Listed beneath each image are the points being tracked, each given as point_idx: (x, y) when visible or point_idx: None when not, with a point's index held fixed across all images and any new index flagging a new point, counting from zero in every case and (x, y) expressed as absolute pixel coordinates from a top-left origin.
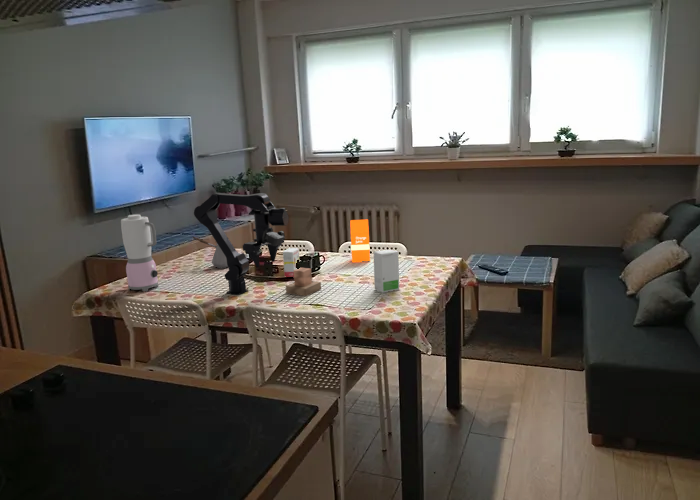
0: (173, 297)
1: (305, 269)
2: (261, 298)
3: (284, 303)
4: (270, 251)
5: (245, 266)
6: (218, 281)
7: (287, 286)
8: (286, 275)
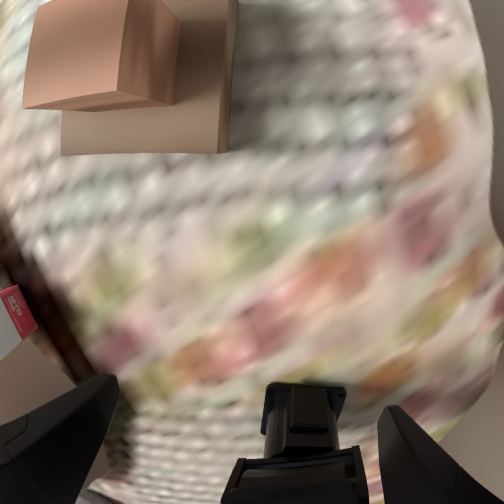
0: None
1: (62, 20)
2: (375, 242)
3: (411, 52)
4: (68, 487)
5: (295, 495)
6: (205, 494)
7: (217, 137)
8: (28, 323)
